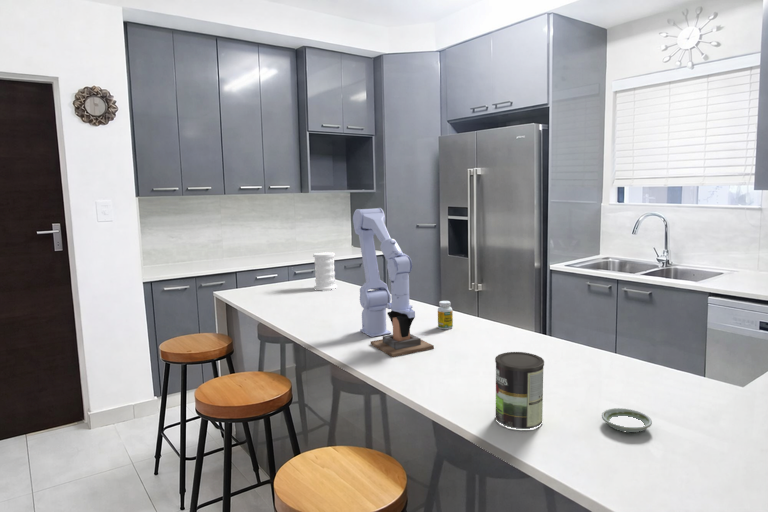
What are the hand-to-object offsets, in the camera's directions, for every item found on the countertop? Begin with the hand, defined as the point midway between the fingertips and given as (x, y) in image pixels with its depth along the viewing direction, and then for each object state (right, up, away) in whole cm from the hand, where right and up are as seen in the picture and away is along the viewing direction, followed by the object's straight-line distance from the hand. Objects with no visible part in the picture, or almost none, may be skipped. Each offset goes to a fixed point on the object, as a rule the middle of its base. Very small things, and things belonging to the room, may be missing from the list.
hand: (401, 334), depth 167 cm
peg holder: (0, -4, +1) cm, 4 cm away
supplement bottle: (+17, -1, +20) cm, 26 cm away
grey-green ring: (+46, -11, -57) cm, 74 cm away
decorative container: (-35, +9, +96) cm, 103 cm away
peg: (0, -2, 0) cm, 2 cm away
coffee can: (+24, -11, -53) cm, 59 cm away
